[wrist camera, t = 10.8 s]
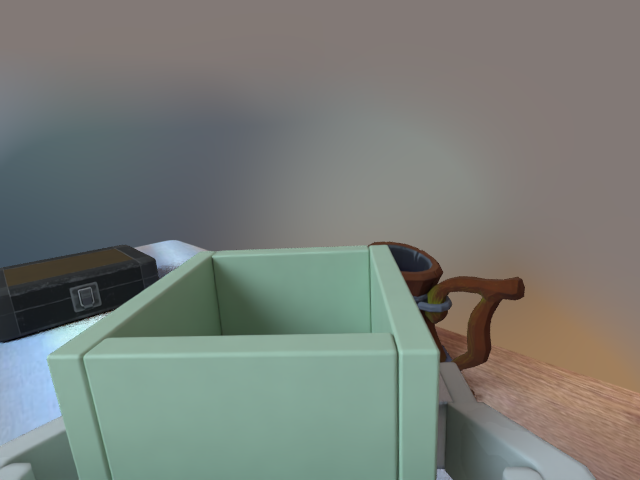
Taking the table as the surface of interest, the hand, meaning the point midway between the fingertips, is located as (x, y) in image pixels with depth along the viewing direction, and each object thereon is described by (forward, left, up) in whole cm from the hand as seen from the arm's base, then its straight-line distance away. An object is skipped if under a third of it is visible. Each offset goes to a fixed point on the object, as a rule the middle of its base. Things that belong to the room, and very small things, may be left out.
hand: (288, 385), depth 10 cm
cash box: (+7, +70, -19) cm, 73 cm away
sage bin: (-1, -1, -9) cm, 9 cm away
